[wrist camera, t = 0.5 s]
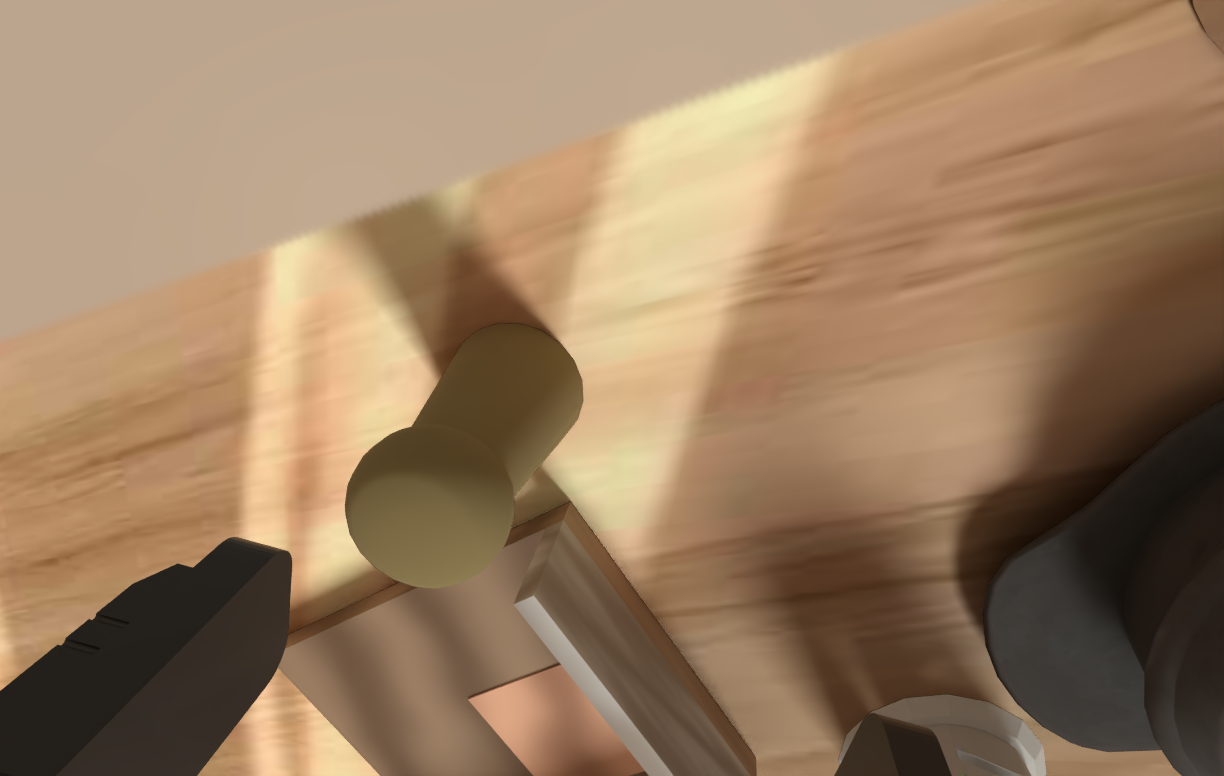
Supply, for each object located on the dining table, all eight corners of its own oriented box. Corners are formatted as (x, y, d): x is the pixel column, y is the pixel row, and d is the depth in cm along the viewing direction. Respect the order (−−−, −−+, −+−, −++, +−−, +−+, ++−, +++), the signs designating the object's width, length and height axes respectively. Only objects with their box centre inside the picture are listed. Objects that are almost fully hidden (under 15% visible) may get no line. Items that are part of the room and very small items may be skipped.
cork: (432, 411, 31) (291, 564, 21) (476, 297, 29) (339, 412, 19) (551, 470, 31) (466, 649, 22) (606, 363, 29) (539, 510, 19)
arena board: (570, 501, 32) (533, 595, 26) (755, 758, 37) (760, 886, 31) (284, 636, 39) (203, 735, 33) (471, 838, 43) (430, 955, 38)
